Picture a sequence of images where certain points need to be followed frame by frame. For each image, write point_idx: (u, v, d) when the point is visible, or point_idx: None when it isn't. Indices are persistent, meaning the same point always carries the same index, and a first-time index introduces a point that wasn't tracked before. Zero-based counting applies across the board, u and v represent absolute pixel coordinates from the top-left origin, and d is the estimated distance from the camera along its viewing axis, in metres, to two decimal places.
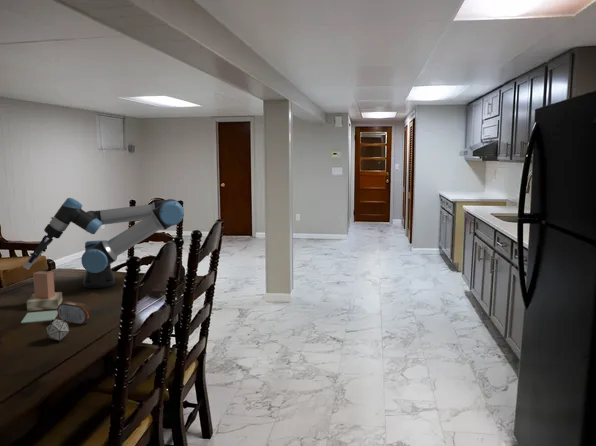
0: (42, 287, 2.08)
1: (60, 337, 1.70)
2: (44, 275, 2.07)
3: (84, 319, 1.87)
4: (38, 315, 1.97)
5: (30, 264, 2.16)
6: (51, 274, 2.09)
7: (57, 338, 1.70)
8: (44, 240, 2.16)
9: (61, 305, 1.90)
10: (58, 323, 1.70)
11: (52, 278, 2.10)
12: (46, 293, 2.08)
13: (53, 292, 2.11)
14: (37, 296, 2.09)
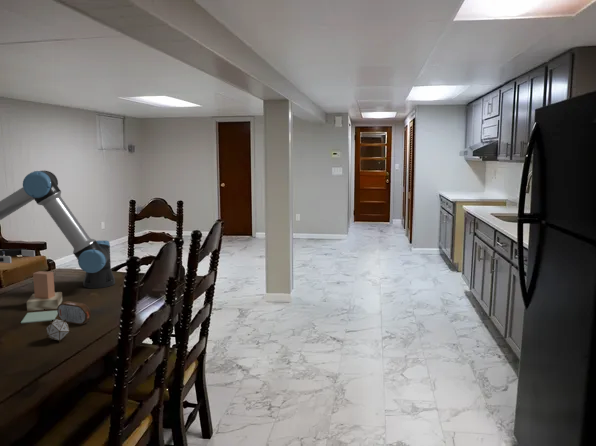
0: (42, 287, 2.08)
1: (60, 337, 1.70)
2: (44, 275, 2.07)
3: (84, 319, 1.87)
4: (38, 315, 1.97)
5: (4, 258, 2.04)
6: (51, 274, 2.09)
7: (57, 338, 1.70)
8: None
9: (61, 305, 1.90)
10: (58, 323, 1.70)
11: (52, 278, 2.10)
12: (46, 293, 2.08)
13: (53, 292, 2.11)
14: (37, 296, 2.09)
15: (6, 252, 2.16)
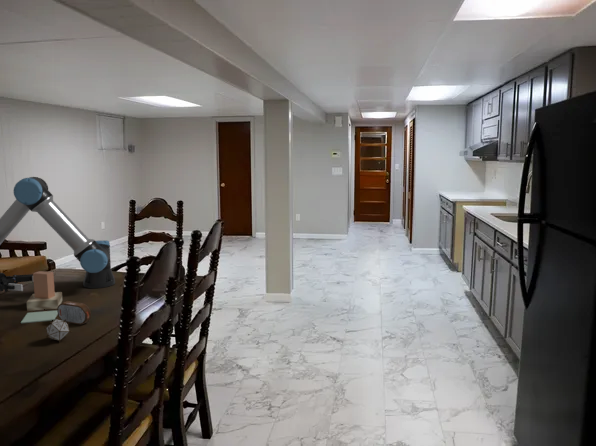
0: (42, 287, 2.08)
1: (60, 337, 1.70)
2: (44, 275, 2.07)
3: (84, 319, 1.87)
4: (38, 315, 1.97)
5: (16, 285, 2.04)
6: (51, 274, 2.09)
7: (57, 338, 1.70)
8: None
9: (61, 305, 1.90)
10: (58, 323, 1.70)
11: (52, 278, 2.10)
12: (46, 293, 2.08)
13: (53, 292, 2.11)
14: (37, 296, 2.09)
15: (17, 278, 2.16)
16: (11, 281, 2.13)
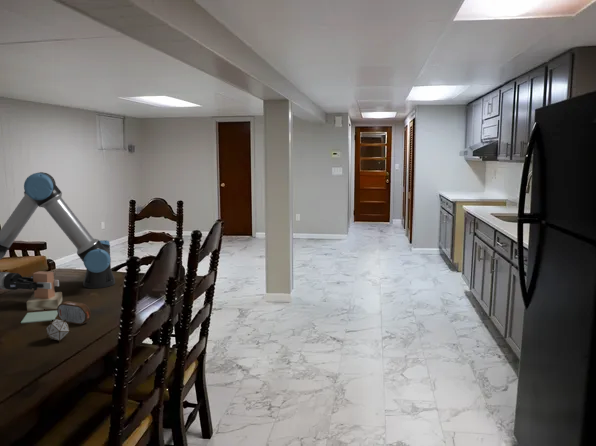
0: None
1: (60, 337, 1.70)
2: (44, 275, 2.07)
3: (84, 319, 1.87)
4: (38, 315, 1.97)
5: (44, 284, 2.07)
6: (51, 274, 2.09)
7: (57, 338, 1.70)
8: (13, 287, 2.06)
9: (61, 305, 1.90)
10: (58, 323, 1.70)
11: (52, 278, 2.10)
12: (46, 293, 2.08)
13: (53, 292, 2.11)
14: (37, 296, 2.09)
15: (31, 280, 2.13)
16: None
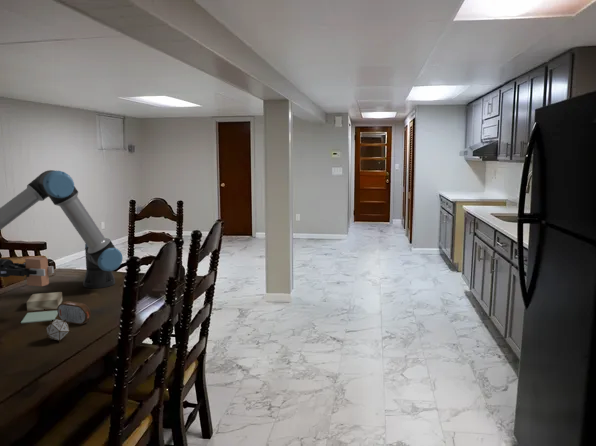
0: None
1: (60, 337, 1.70)
2: (37, 261, 1.91)
3: (84, 319, 1.87)
4: (38, 315, 1.97)
5: (38, 270, 1.90)
6: (45, 260, 1.93)
7: (57, 338, 1.70)
8: (4, 273, 1.90)
9: (61, 305, 1.90)
10: (58, 323, 1.70)
11: (46, 264, 1.94)
12: (40, 280, 1.92)
13: (47, 279, 1.95)
14: (30, 284, 1.93)
15: (23, 267, 1.97)
16: None
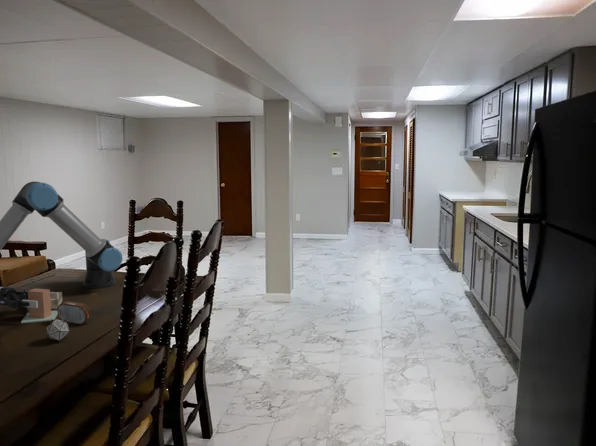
0: None
1: (60, 337, 1.70)
2: (40, 293, 1.93)
3: (84, 319, 1.87)
4: None
5: (30, 302, 1.89)
6: (47, 292, 1.95)
7: (57, 338, 1.70)
8: (2, 303, 1.91)
9: (61, 305, 1.90)
10: (58, 323, 1.70)
11: (48, 296, 1.96)
12: (42, 312, 1.94)
13: (49, 311, 1.97)
14: (32, 315, 1.95)
15: (27, 294, 2.00)
16: (21, 297, 1.98)
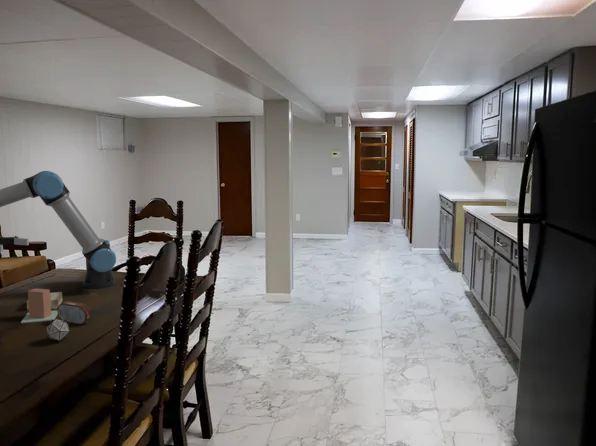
0: (37, 305, 1.94)
1: (60, 337, 1.70)
2: (40, 293, 1.93)
3: (84, 319, 1.87)
4: None
5: None
6: (47, 292, 1.95)
7: (57, 338, 1.70)
8: None
9: (61, 305, 1.90)
10: (58, 323, 1.70)
11: (48, 296, 1.96)
12: (42, 312, 1.94)
13: (49, 311, 1.97)
14: (32, 315, 1.95)
15: None
16: None
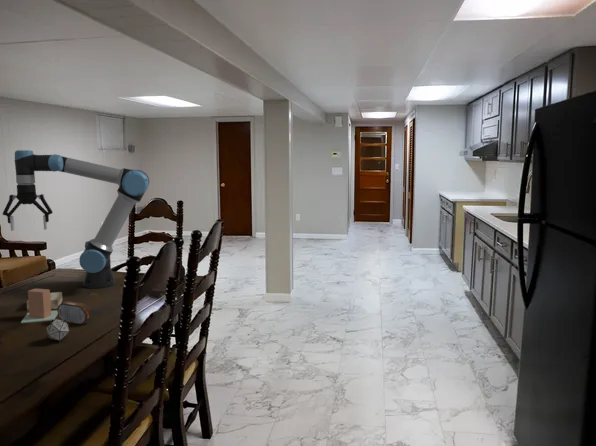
0: (37, 305, 1.94)
1: (60, 337, 1.70)
2: (40, 293, 1.93)
3: (84, 319, 1.87)
4: None
5: None
6: (47, 292, 1.95)
7: (57, 338, 1.70)
8: None
9: (61, 305, 1.90)
10: (58, 323, 1.70)
11: (48, 296, 1.96)
12: (42, 312, 1.94)
13: (49, 311, 1.97)
14: (32, 315, 1.95)
15: None
16: (28, 203, 2.20)
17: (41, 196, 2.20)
